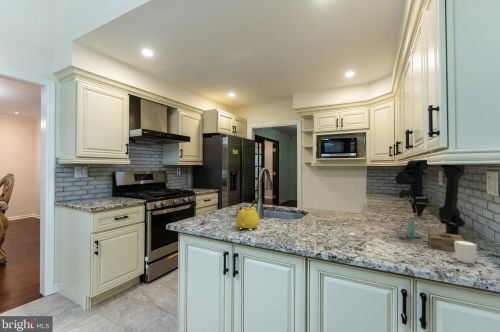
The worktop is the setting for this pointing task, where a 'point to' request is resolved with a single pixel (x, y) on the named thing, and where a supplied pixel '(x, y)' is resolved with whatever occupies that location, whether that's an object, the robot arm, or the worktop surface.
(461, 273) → the worktop surface
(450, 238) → the socket block
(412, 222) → the peg
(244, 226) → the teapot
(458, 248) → the white cup
